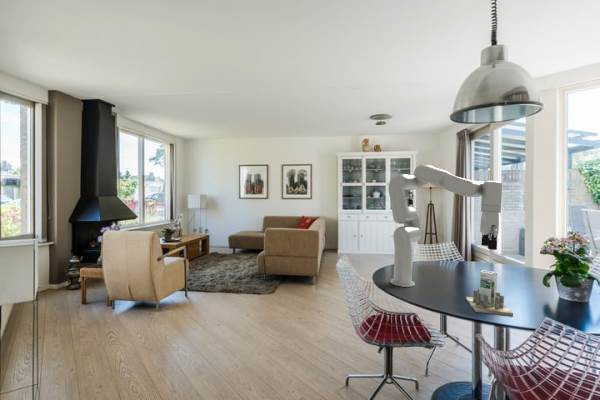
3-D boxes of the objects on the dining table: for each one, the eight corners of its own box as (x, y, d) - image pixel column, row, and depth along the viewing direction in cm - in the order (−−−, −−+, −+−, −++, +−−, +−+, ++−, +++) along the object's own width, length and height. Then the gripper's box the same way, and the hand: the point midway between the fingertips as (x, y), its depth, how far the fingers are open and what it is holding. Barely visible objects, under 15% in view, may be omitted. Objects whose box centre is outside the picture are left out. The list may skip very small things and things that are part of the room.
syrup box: (478, 303, 135) (479, 271, 134) (481, 300, 139) (483, 269, 139) (493, 307, 131) (494, 274, 130) (496, 304, 135) (497, 271, 135)
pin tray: (465, 299, 144) (466, 286, 144) (499, 302, 140) (500, 289, 140) (475, 311, 129) (475, 297, 129) (513, 316, 125) (513, 301, 125)
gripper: (476, 207, 143) (474, 243, 144) (487, 209, 127) (484, 250, 127) (494, 208, 141) (492, 245, 142) (507, 210, 125) (505, 251, 125)
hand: (488, 247), depth 135 cm, fingers open, 9 cm apart
